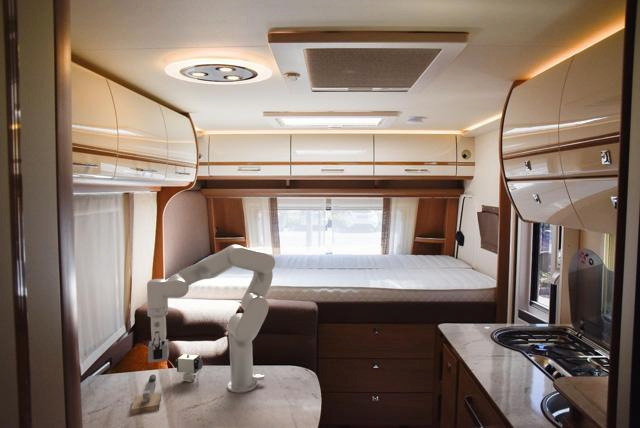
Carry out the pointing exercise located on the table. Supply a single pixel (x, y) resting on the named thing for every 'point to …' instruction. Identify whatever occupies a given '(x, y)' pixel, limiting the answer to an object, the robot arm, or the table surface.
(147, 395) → the mallet
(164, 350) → the hollow grey cube
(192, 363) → the pneumatic valve
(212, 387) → the table surface
